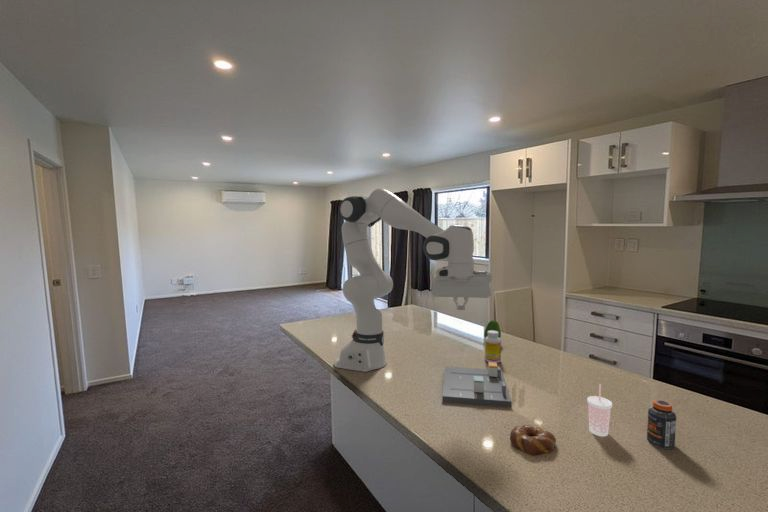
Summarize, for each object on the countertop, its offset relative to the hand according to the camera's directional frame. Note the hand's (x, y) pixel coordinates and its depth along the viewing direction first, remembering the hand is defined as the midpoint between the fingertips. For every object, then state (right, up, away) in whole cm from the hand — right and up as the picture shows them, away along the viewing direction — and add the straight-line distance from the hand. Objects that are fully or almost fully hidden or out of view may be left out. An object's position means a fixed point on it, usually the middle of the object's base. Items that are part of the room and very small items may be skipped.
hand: (460, 309), depth 127 cm
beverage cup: (+33, -31, -26) cm, 52 cm away
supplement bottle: (+20, -27, +29) cm, 44 cm away
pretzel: (+13, -32, -31) cm, 46 cm away
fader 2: (+14, -26, +9) cm, 31 cm away
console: (+6, -29, +3) cm, 30 cm away
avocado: (+27, -25, +51) cm, 63 cm away
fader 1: (+5, -27, -4) cm, 28 cm away
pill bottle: (+47, -31, -32) cm, 64 cm away
